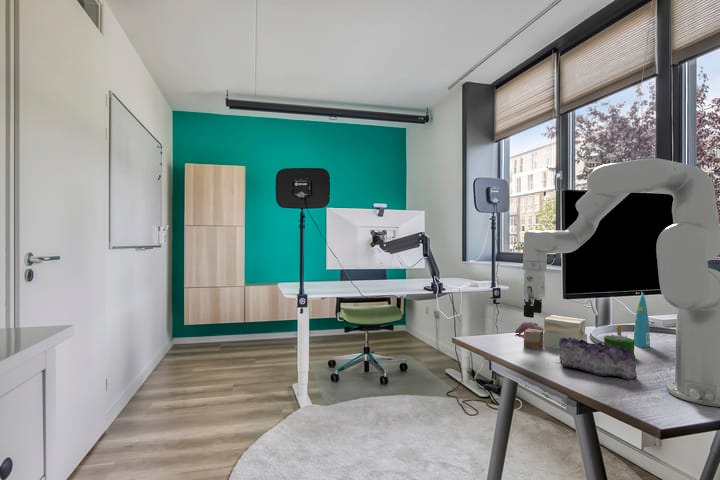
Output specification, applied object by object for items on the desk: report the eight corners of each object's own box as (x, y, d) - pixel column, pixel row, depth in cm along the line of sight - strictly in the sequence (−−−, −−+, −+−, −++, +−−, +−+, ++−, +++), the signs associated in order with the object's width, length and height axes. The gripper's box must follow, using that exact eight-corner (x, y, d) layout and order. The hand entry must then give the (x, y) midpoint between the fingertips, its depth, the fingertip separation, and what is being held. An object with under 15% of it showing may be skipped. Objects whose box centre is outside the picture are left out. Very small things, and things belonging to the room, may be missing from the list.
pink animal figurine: (540, 344, 145) (547, 327, 147) (532, 339, 144) (539, 322, 145) (521, 337, 155) (527, 321, 156) (513, 333, 153) (519, 317, 154)
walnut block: (539, 351, 132) (539, 333, 132) (523, 348, 135) (524, 331, 135) (542, 347, 136) (543, 330, 136) (528, 345, 139) (528, 328, 139)
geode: (638, 372, 112) (640, 339, 111) (635, 390, 103) (637, 354, 102) (560, 355, 125) (561, 326, 123) (552, 370, 116) (553, 338, 114)
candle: (603, 350, 134) (604, 321, 134) (632, 354, 129) (633, 324, 129) (604, 356, 127) (604, 325, 126) (635, 360, 122) (635, 329, 122)
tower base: (581, 353, 130) (581, 339, 130) (543, 346, 138) (543, 332, 138) (586, 347, 138) (587, 333, 138) (550, 341, 146) (550, 327, 146)
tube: (632, 342, 144) (633, 290, 144) (648, 344, 142) (649, 291, 141) (634, 347, 138) (635, 293, 137) (651, 349, 135) (652, 294, 135)
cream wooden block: (578, 338, 131) (578, 323, 131) (544, 332, 138) (544, 318, 138) (585, 333, 138) (585, 319, 138) (551, 328, 145) (552, 314, 145)
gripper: (539, 268, 126) (537, 320, 127) (552, 265, 139) (550, 312, 140) (515, 266, 131) (513, 317, 131) (530, 263, 144) (528, 309, 145)
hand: (532, 314), depth 136 cm, fingers open, 9 cm apart
